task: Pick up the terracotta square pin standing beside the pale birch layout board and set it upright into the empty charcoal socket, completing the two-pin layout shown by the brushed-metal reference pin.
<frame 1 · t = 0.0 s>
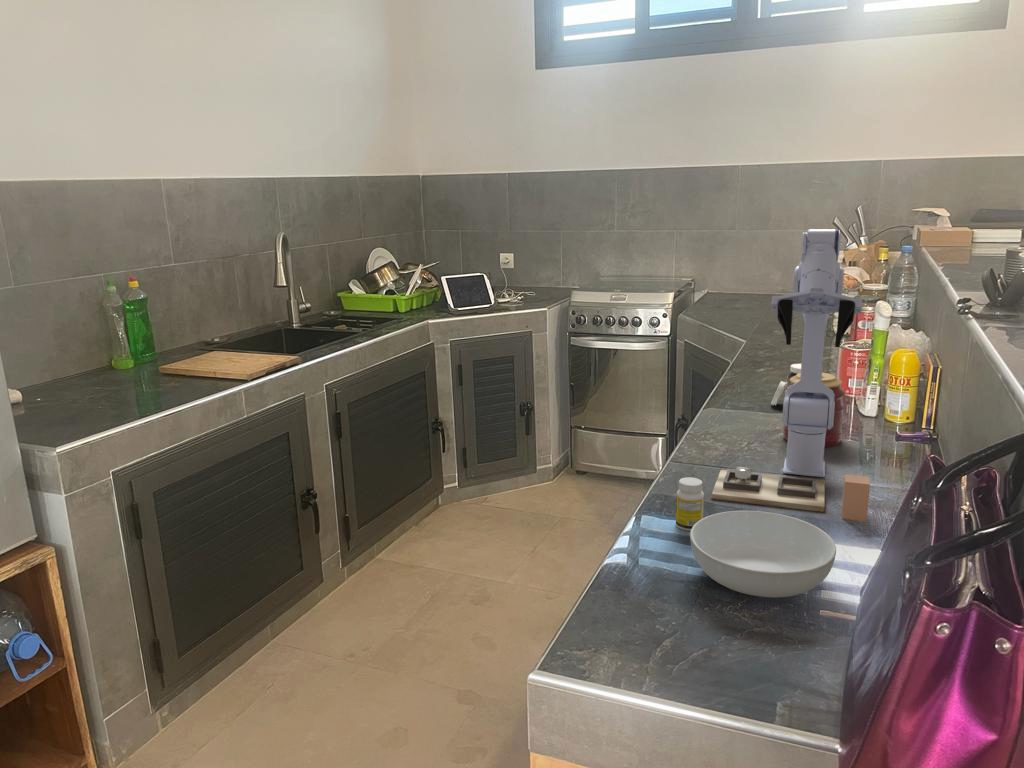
hand: (812, 342, 131), 32 cm above the worktop, tool tilted 50°, fingers open, 7 cm apart
layout board: (768, 491, 152), on the worktop
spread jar: (793, 408, 209), on the worktop
serving bowl: (758, 581, 119), on the worktop
pin peg: (853, 515, 141), on the worktop
supplement bottle: (689, 527, 138), on the worktop
canister: (811, 440, 183), on the worktop
reference pin: (742, 488, 154), resting on layout board
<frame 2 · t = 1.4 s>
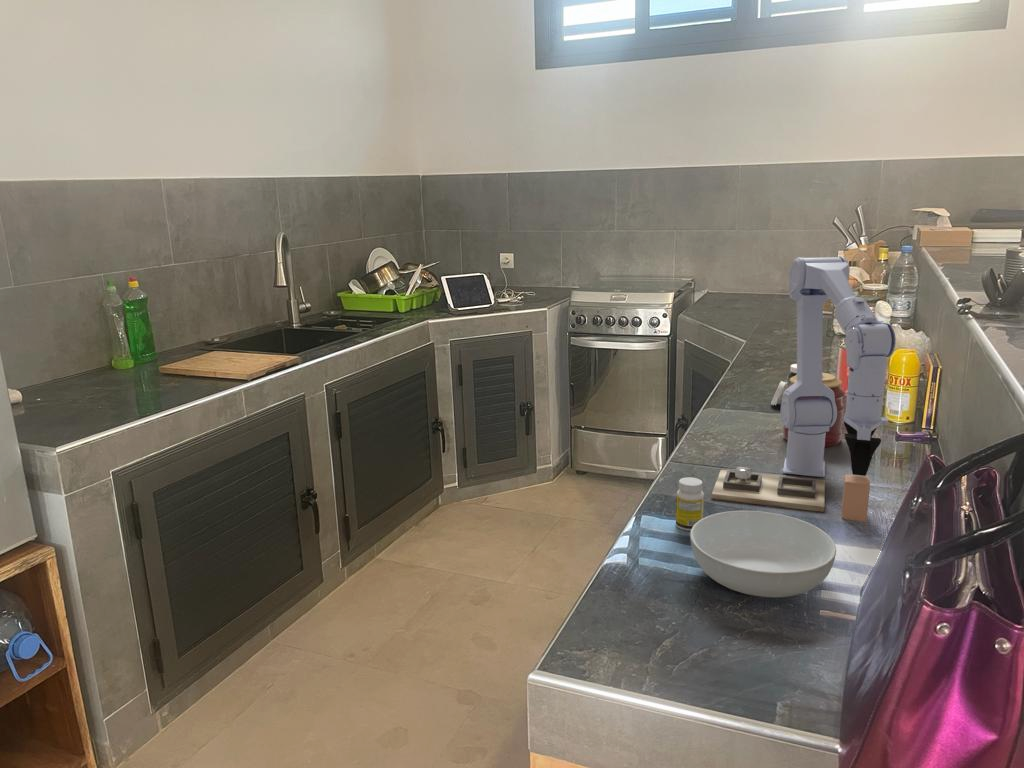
hand: (858, 467, 138), 9 cm above the worktop, tool pointing down, fingers open, 7 cm apart
nothing on the worktop moved.
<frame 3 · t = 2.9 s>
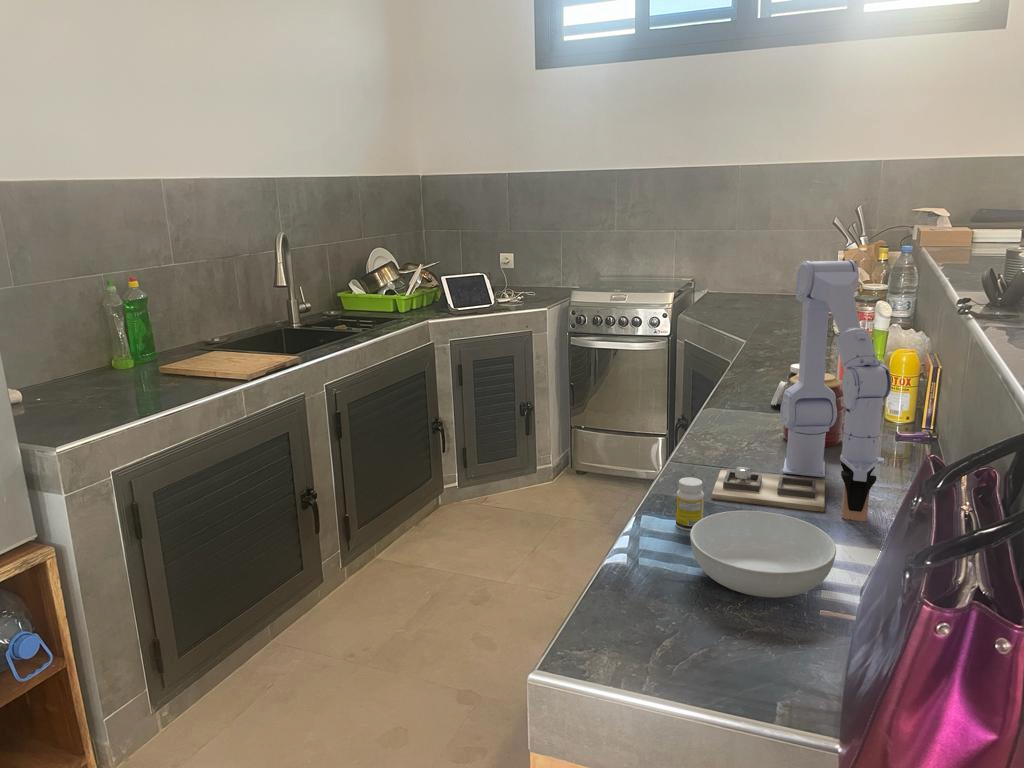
hand: (854, 505, 140), 2 cm above the worktop, tool pointing down, fingers closed on pin peg, 4 cm apart
pin peg: (853, 515, 141), on the worktop, touching gripper
everything else where it was.
when the fingers open (4 cm above the worktop, at t = 8.1 s): pin peg stays where it is, resting on layout board.
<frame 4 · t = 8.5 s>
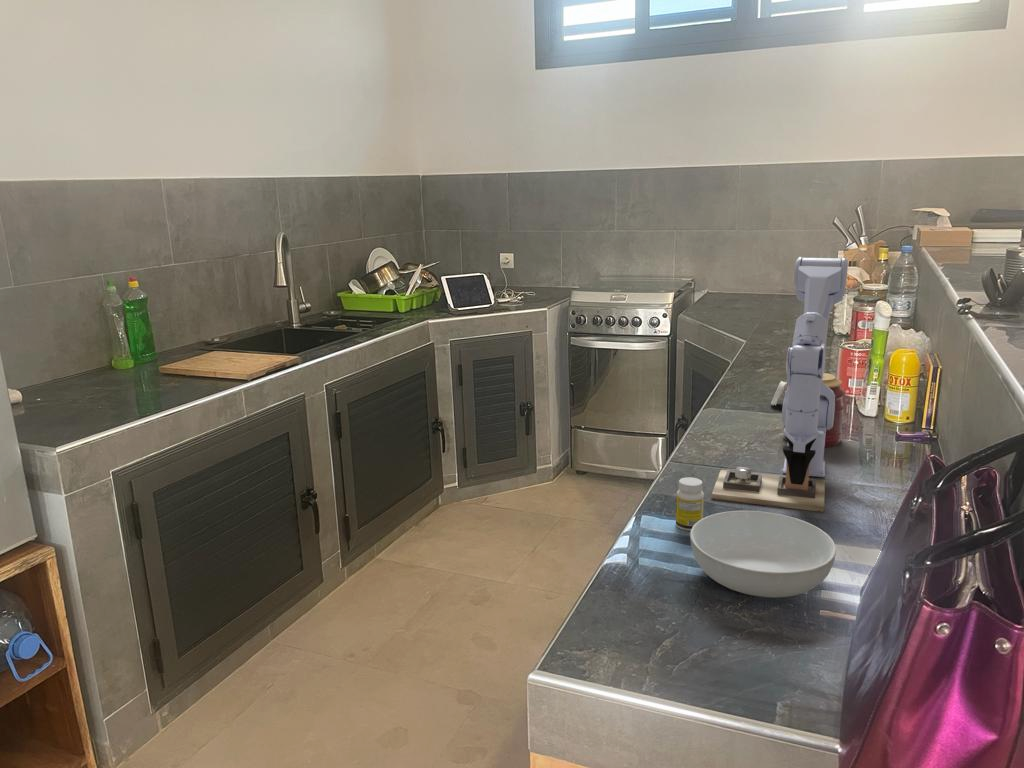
hand: (797, 476, 150), 4 cm above the worktop, tool pointing down, fingers open, 7 cm apart
pin peg: (796, 490, 150), point 1 cm above the worktop, touching layout board
everything else where it was.
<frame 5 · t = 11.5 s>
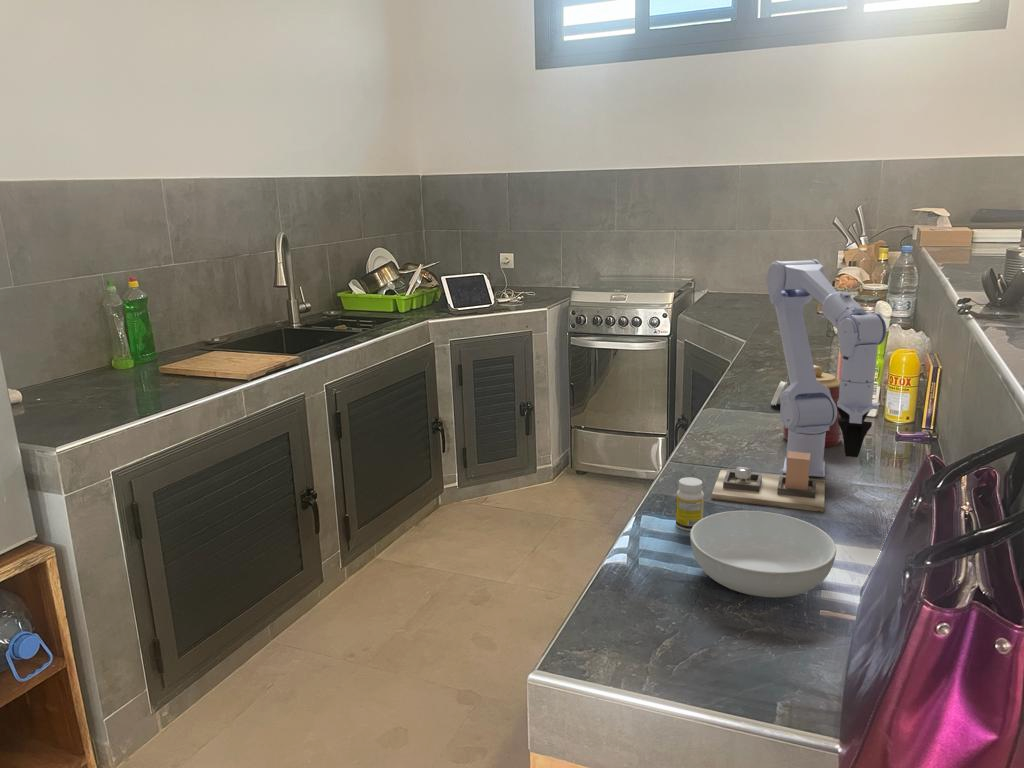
hand: (850, 450, 147), 9 cm above the worktop, tool pointing down, fingers open, 7 cm apart
nothing on the worktop moved.
at the end: pin peg 0.0 cm from the target spot on the layout board, point 1.0 cm above the layout board's base; pin peg tilted 0°; the gripper is holding nothing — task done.
